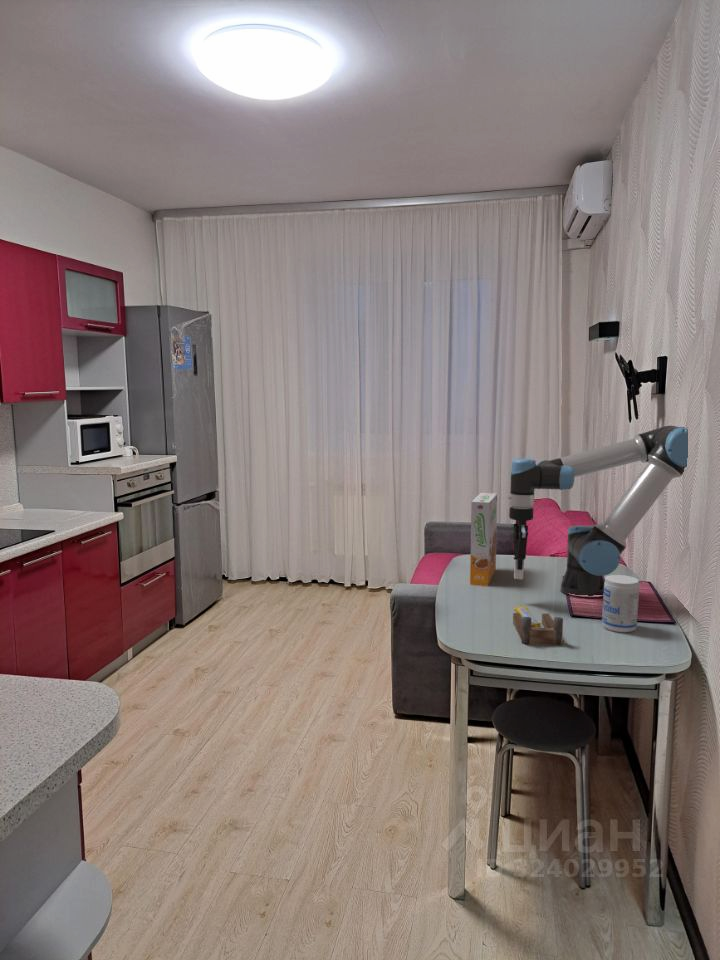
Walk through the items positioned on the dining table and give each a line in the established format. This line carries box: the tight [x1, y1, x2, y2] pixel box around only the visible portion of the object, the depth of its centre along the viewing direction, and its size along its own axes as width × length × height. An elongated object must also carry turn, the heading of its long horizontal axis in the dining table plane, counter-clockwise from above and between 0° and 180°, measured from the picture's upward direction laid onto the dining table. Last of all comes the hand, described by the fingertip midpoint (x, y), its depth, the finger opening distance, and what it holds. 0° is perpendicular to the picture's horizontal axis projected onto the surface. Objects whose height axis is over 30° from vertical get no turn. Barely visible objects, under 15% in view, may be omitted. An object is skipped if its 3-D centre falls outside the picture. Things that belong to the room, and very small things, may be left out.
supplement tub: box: [601, 574, 640, 633], centre depth 202 cm, size 10×10×15 cm
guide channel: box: [512, 612, 564, 646], centre depth 198 cm, size 11×18×7 cm, turn 177°
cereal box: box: [469, 492, 498, 587], centre depth 256 cm, size 22×6×30 cm, turn 162°
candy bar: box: [513, 606, 542, 628], centre depth 211 cm, size 17×4×2 cm, turn 1°
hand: (518, 578), depth 226 cm, fingers closed
